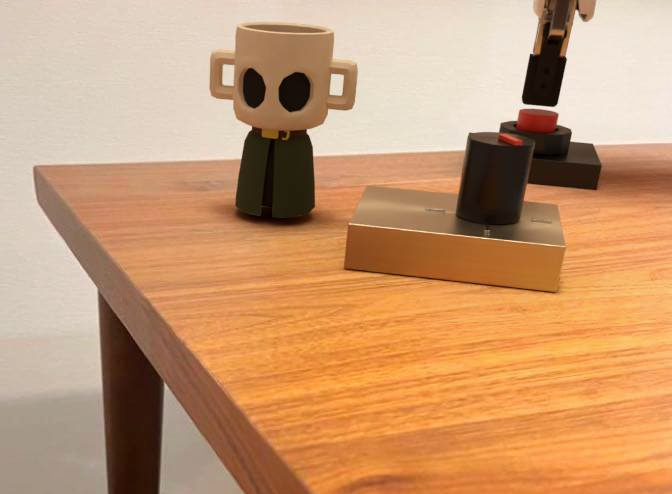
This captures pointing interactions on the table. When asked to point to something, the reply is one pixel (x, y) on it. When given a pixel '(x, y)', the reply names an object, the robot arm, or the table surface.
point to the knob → (494, 177)
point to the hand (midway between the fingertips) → (538, 103)
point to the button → (537, 120)
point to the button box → (559, 158)
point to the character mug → (280, 109)
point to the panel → (453, 241)
